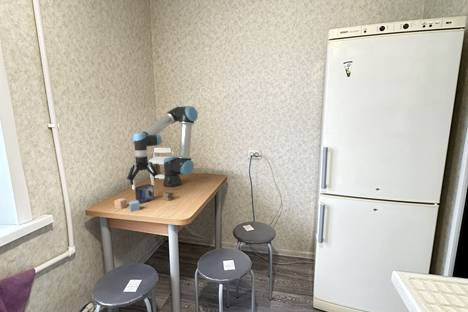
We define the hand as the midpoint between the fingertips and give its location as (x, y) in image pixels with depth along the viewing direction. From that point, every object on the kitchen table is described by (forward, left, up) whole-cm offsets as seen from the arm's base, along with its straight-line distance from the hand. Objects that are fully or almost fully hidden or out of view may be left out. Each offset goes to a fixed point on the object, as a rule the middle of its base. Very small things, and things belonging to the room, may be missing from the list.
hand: (143, 187), depth 166 cm
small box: (0, 0, -10) cm, 10 cm away
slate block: (+12, +10, -10) cm, 18 cm away
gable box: (-43, -48, -10) cm, 66 cm away
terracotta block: (+16, -1, -10) cm, 18 cm away
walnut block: (-12, +10, -10) cm, 19 cm away
